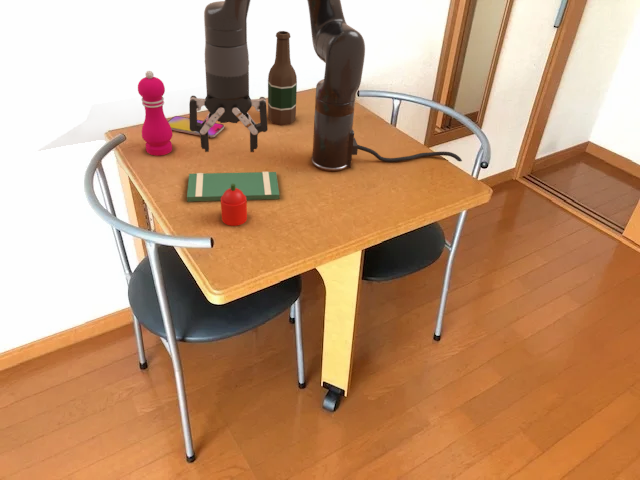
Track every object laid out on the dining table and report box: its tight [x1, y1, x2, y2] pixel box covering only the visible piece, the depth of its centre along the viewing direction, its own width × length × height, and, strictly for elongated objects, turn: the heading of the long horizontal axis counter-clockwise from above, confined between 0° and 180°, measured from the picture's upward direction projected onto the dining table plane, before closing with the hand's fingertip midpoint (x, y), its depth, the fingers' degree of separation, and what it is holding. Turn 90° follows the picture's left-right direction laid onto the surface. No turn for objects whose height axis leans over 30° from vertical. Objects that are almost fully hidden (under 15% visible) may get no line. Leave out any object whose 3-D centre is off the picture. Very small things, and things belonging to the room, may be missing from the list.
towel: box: [186, 171, 280, 203], centre depth 125 cm, size 20×10×1 cm, turn 98°
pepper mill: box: [137, 70, 173, 157], centre depth 131 cm, size 7×7×20 cm
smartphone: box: [167, 115, 225, 139], centre depth 148 cm, size 7×1×15 cm
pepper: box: [220, 184, 248, 227], centre depth 113 cm, size 5×5×8 cm
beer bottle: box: [267, 30, 298, 126], centre depth 148 cm, size 8×8×24 cm
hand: (229, 150), depth 106 cm, fingers open, 8 cm apart
